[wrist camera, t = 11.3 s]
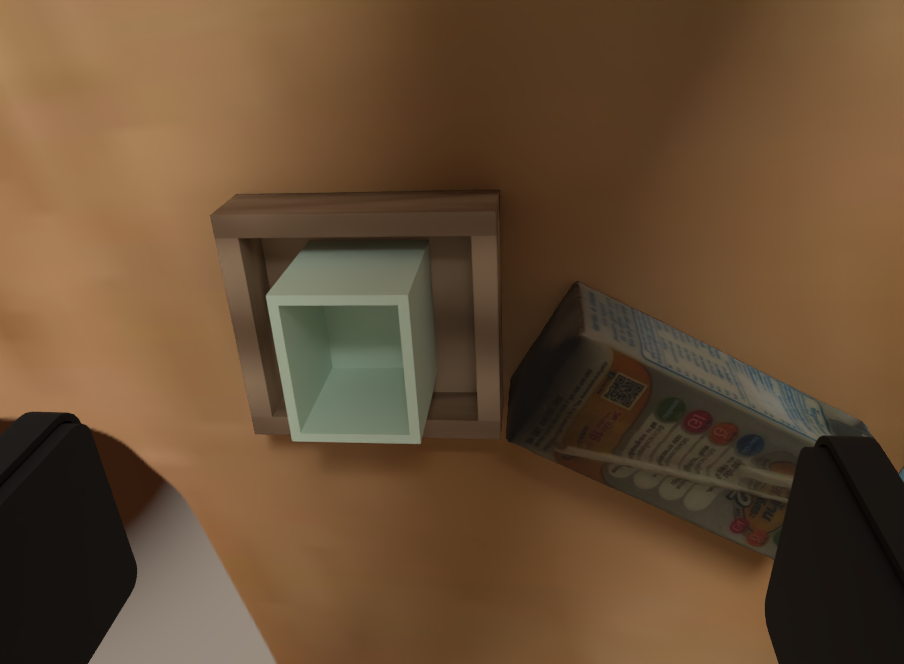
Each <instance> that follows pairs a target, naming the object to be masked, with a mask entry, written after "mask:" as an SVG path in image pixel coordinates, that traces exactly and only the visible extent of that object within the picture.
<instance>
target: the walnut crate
mask: <svg viewBox="0 0 904 664" xmlns="http://www.w3.org/2000/svg"><path fill="white" fill-rule="evenodd" d="M210 217H211V222H212V227H213V231H214V236H215V241H216V246H217V251H218V256H219V261H220V265H221V270H222V275H223V280H224V285H225V290H226V295H227V299H228V304H229V309H230V314H231V319H232V324H233V329H234V333H235V338H236V343H237V348H238V353H239V358H240V363H241V367H242V372H243V377H244V382H245V387H246V392H247V397H248V401H249V406H250V411H251V416H252V421H253V426H254V431H255V434H270V435H291V432H290V427H289V421H288V416H287V410H286V405H285V399H284V394H283V388H282V383H281V377H280V372H279V366H278V361H277V355H276V350H275V344H274V339H273V333H272V328H271V322H270V317H269V311H268V306H267V300H266V295H267V293H268V292H269V291H270V289H271V288H272V287H273V286H274V284H275V283H276V282H277V281H278V279H279V278H280V277H281V275H282V274H283V273H284V272H285V270H286V269H287V268H288V267H289V265H290V264H291V263H292V262H293V260H294V259H295V258H296V256H297V255H298V254H299V253H300V251H301V250H302V249H303V248H304V246H305V245H306V244H307V242H308V241H371V240H429V249H430V264H431V278H432V293H433V307H434V322H435V337H436V351H437V366H438V373H437V378H436V382H435V386H434V390H433V394H432V399H431V403H430V407H429V411H428V415H427V420H426V424H425V428H424V432H423V436H422V438H457V439H501V430H502V417H503V357H502V305H501V253H500V200H499V190H462V191H404V192H345V193H287V194H236V195H235V196H233V197H232V198H231V199H230V200H228V201H227V202H226V203H225V204H224V205H222V206H221V207H220V208H219V209H217V210H216V211H215V212H214V213H212V214H211V215H210Z"/></svg>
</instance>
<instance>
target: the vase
mask: <svg viewBox="0 0 904 664" xmlns="http://www.w3.org/2000/svg"><path fill="white" fill-rule="evenodd" d="M899 476H900V477H901V479H902V480H903V482H904V467H903V469H902V470H901V472H900V473H899Z"/></svg>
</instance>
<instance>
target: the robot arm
mask: <svg viewBox="0 0 904 664" xmlns="http://www.w3.org/2000/svg"><path fill="white" fill-rule="evenodd" d="M136 578H137V565H136V561H135V558H134V555H133V553H132V550H131V547H130V544H129V541H128V538H127V535H126V532H125V529H124V526H123V523H122V520H121V517H120V514H119V512H118V509H117V506H116V503H115V500H114V497H113V494H112V491H111V488H110V485H109V482H108V479H107V476H106V474H105V471H104V468H103V465H102V462H101V459H100V456H99V453H98V450H97V448H96V444H95V441H94V438H93V436H92V433H91V431H90V429H89V428H88V427H87V426H86V425H84V424H81V422H80V420H79V419H78V418H77V417H76V416H75V415H74V414H71V413H58V412H28V413H25V414H24V415H22V416H21V417H19V418H18V419H17V420H16V421H15V422H14V423H13V424H12V425H11V426H10V427H8V428H7V429H6V431H4V432H3V433H2V434H1V435H0V664H88V663H89V661H90V659H91V658H92V656H93V654H94V653H95V651H96V650H97V648H98V646H99V645H100V643H101V641H102V640H103V638H104V637H105V635H106V633H107V632H108V630H109V628H110V627H111V625H112V624H113V622H114V620H115V619H116V617H117V615H118V614H119V612H120V611H121V609H122V607H123V606H124V604H125V602H126V601H127V599H128V597H129V596H130V594H131V592H132V590H133V588H134V586H135V583H136ZM765 618H766V624H767V628H768V632H769V635H770V638H771V641H772V644H773V647H774V651H775V654H776V657H777V660H778V663H779V664H904V482H903V480H902V479H901V477H900V476H899V474H898V472H897V471H896V469H895V468H894V466H893V465H892V463H891V462H890V460H889V458H888V457H887V455H886V454H885V452H884V451H883V449H882V448H881V446H880V445H879V443H878V442H877V441H876V440H875V439H874V438H871V437H862V436H828V435H823V436H820V437H819V438H818V439H817V441H816V443H815V445H814V447H803V448H802V449H801V451H800V454H799V457H798V461H797V465H796V469H795V474H794V478H793V482H792V487H791V491H790V495H789V500H788V504H787V508H786V512H785V517H784V521H783V525H782V530H781V534H780V538H779V542H778V547H777V551H776V555H775V560H774V564H773V568H772V573H771V577H770V581H769V585H768V590H767V594H766V599H765Z"/></svg>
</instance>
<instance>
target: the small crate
mask: <svg viewBox="0 0 904 664" xmlns="http://www.w3.org/2000/svg"><path fill="white" fill-rule="evenodd" d="M266 300H267V306H268V311H269V317H270V322H271V328H272V333H273V339H274V344H275V350H276V355H277V361H278V366H279V372H280V377H281V383H282V388H283V394H284V399H285V405H286V410H287V416H288V421H289V427H290V432H291V438H292V441H298V442H347V443H396V444H421V441H422V436H423V432H424V428H425V424H426V420H427V415H428V411H429V407H430V403H431V399H432V394H433V390H434V386H435V382H436V378H437V373H438V366H437V351H436V337H435V322H434V307H433V293H432V278H431V264H430V249H429V240H371V241H308V242H307V244H306V245H305V246H304V248H303V249H302V250H301V251H300V253H299V254H298V255H297V256H296V258H295V259H294V260H293V262H292V263H291V264H290V265H289V267H288V268H287V269H286V270H285V272H284V273H283V274H282V275H281V277H280V278H279V279H278V281H277V282H276V283H275V284H274V286H273V287H272V288H271V289H270V291H269V292H268V293H267V295H266Z"/></svg>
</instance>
